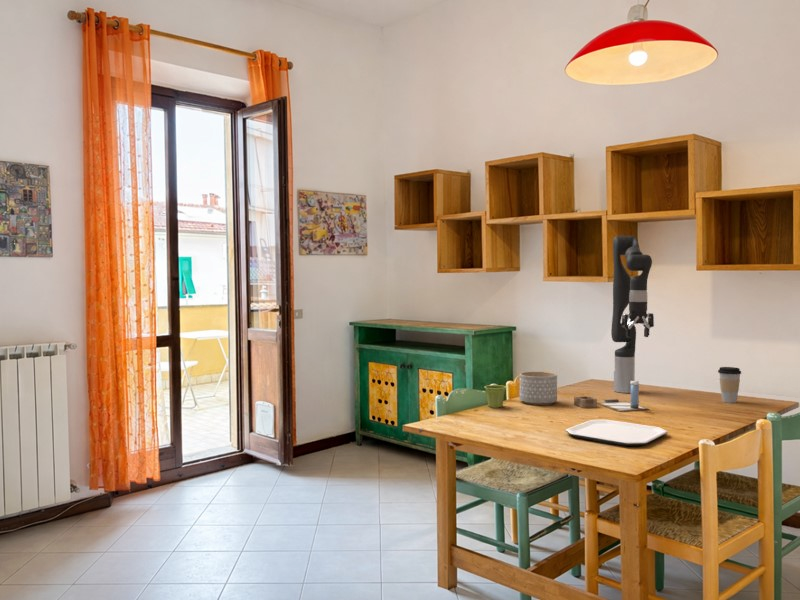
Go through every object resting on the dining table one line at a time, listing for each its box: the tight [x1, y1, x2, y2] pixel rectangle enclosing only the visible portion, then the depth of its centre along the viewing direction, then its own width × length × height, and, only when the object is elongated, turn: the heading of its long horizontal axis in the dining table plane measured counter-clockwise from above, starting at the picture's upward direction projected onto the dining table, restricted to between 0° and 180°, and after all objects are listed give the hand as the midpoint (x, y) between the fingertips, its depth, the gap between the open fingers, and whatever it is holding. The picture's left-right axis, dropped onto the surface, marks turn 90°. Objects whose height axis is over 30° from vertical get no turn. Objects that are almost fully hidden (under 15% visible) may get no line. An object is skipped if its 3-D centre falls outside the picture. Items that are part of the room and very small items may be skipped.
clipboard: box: [597, 398, 650, 413], centre depth 282 cm, size 18×14×2 cm
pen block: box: [573, 395, 598, 409], centre depth 284 cm, size 7×7×4 cm
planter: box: [519, 371, 558, 406], centre depth 293 cm, size 16×16×13 cm
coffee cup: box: [717, 366, 742, 404], centre depth 291 cm, size 9×9×15 cm
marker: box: [630, 380, 640, 409], centre depth 276 cm, size 3×3×11 cm
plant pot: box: [484, 384, 507, 409], centre depth 284 cm, size 9×9×9 cm
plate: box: [565, 419, 669, 447], centre depth 232 cm, size 29×29×2 cm
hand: (637, 337), depth 288 cm, fingers open, 8 cm apart
